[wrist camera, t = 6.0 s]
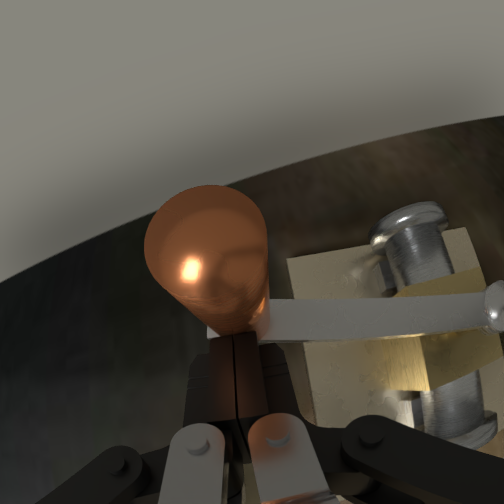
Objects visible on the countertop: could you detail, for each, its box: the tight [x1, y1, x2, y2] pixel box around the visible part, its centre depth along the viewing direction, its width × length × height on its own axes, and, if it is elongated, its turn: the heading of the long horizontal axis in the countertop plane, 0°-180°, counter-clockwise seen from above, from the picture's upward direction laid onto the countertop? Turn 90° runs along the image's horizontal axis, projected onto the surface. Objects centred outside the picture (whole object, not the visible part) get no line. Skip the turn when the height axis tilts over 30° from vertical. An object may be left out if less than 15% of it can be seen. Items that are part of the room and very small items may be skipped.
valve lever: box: [144, 185, 504, 343], centre depth 10 cm, size 17×3×9 cm, turn 88°
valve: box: [286, 201, 504, 501], centre depth 18 cm, size 20×22×12 cm
